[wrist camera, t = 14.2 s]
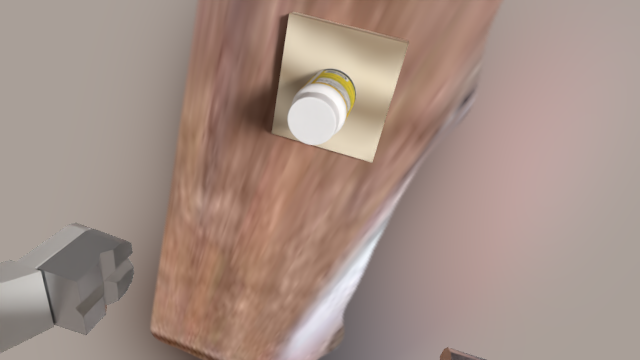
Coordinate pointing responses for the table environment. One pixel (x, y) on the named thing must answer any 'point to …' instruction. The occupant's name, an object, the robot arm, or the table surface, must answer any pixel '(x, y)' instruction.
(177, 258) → the table surface
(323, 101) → the supplement bottle
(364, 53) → the ash board
